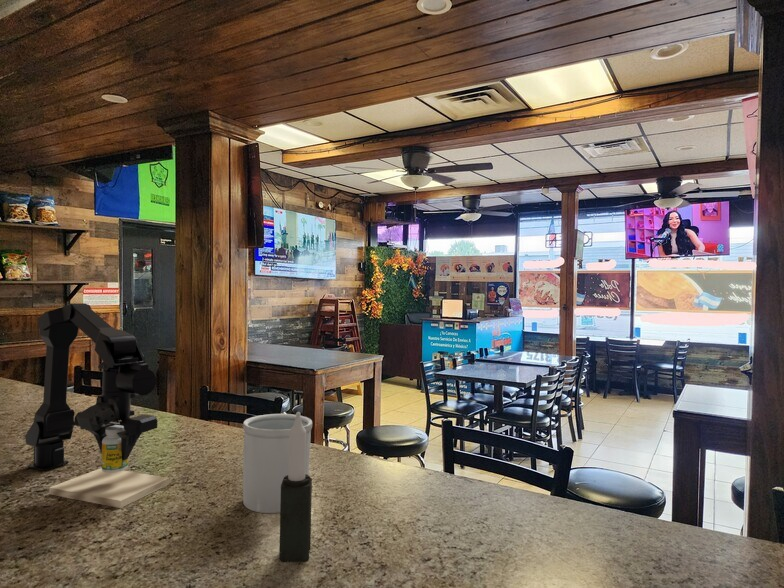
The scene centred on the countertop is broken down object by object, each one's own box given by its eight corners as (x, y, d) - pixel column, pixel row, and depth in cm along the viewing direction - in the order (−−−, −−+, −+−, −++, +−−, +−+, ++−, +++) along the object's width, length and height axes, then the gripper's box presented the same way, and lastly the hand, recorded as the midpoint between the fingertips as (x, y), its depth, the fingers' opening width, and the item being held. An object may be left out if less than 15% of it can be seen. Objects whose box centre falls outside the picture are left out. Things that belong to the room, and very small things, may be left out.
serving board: (49, 494, 111) (49, 487, 111) (103, 473, 125) (103, 467, 125) (120, 508, 105) (120, 500, 105) (169, 484, 118) (169, 477, 118)
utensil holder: (286, 482, 121) (288, 409, 121) (323, 501, 111) (325, 422, 111) (229, 499, 111) (230, 419, 111) (264, 522, 100) (266, 434, 100)
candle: (282, 547, 91) (285, 408, 91) (310, 546, 91) (313, 408, 91) (278, 562, 85) (281, 415, 85) (308, 561, 86) (311, 415, 86)
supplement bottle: (126, 463, 118) (128, 423, 118) (129, 471, 114) (130, 428, 114) (100, 467, 115) (101, 425, 115) (102, 475, 111) (103, 431, 111)
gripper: (52, 392, 110) (50, 464, 110) (119, 400, 104) (117, 476, 104) (96, 384, 120) (95, 449, 120) (160, 391, 115) (158, 459, 115)
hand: (114, 458), depth 115 cm, fingers closed on supplement bottle, 5 cm apart
